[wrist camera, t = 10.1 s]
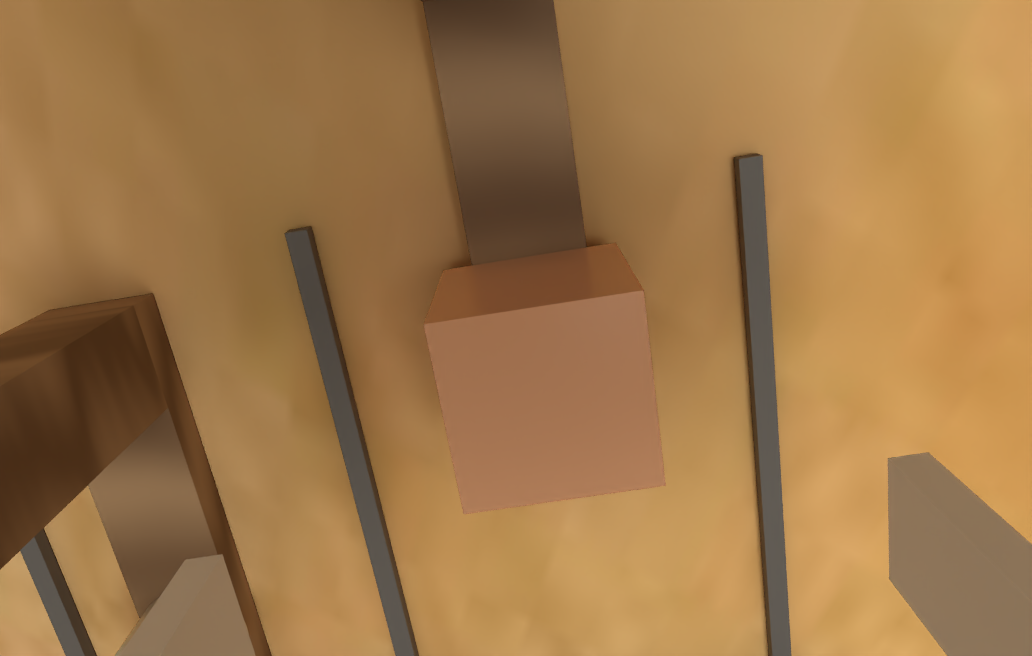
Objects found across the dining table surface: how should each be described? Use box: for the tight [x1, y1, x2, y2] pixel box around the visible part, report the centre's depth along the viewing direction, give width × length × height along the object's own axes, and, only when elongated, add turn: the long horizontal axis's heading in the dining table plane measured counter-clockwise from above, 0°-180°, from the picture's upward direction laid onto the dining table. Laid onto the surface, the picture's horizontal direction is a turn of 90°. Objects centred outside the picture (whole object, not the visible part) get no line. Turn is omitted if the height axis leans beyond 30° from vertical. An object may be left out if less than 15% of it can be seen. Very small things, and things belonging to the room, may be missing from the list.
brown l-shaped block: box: [421, 0, 587, 265], centre depth 21 cm, size 20×4×12 cm, turn 9°
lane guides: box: [20, 154, 791, 656], centre depth 30 cm, size 24×31×3 cm
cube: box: [424, 243, 666, 514], centre depth 24 cm, size 6×6×6 cm
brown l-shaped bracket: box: [0, 294, 271, 656], centre depth 26 cm, size 20×4×12 cm, turn 9°
